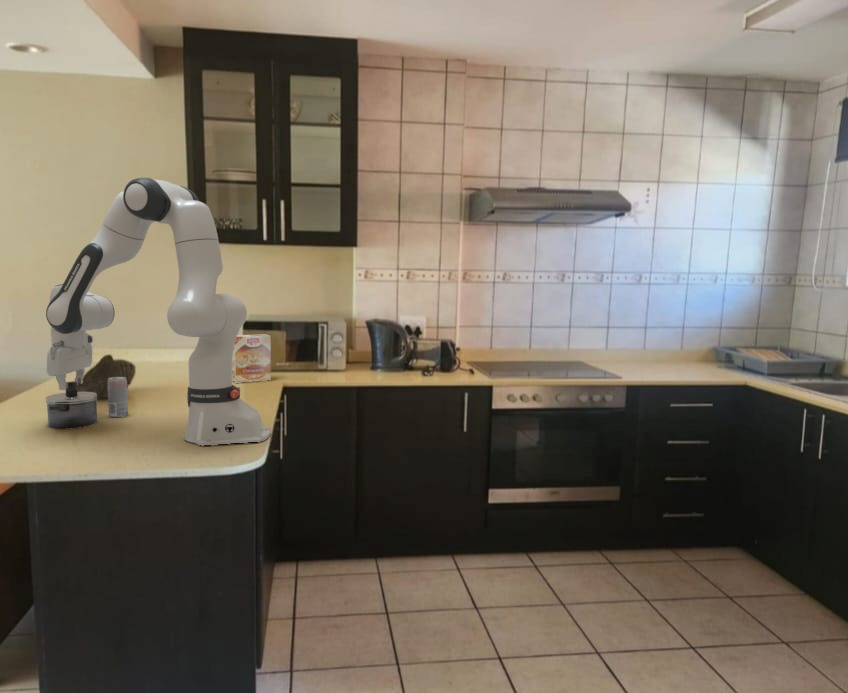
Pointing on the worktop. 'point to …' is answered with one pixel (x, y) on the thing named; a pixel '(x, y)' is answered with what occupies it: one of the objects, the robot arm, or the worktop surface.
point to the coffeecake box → (251, 358)
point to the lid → (71, 395)
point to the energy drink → (117, 396)
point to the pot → (72, 414)
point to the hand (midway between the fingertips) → (71, 386)
